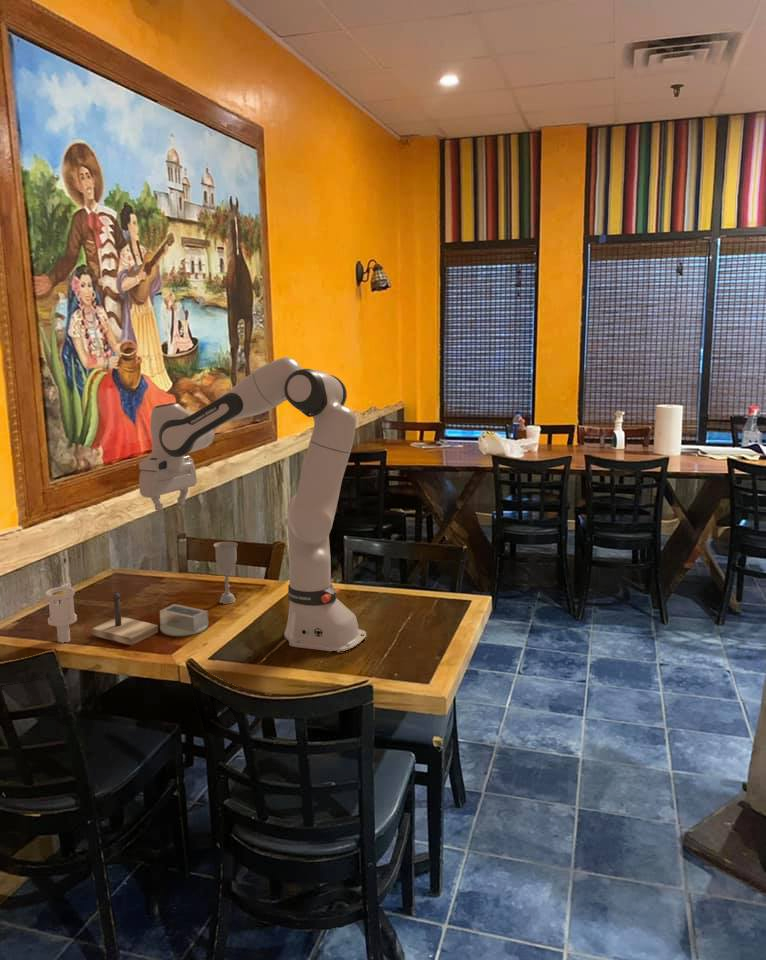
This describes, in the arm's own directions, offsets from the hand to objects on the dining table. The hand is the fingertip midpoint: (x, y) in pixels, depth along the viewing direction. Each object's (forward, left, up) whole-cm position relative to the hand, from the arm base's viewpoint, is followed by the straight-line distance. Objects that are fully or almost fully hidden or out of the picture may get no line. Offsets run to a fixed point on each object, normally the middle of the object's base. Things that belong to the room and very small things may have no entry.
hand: (170, 506), depth 220 cm
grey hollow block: (-12, +10, -30) cm, 34 cm away
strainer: (+10, +32, -31) cm, 46 cm away
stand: (-1, +21, -31) cm, 38 cm away
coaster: (-12, +10, -31) cm, 35 cm away
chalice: (-10, -12, -31) cm, 35 cm away
